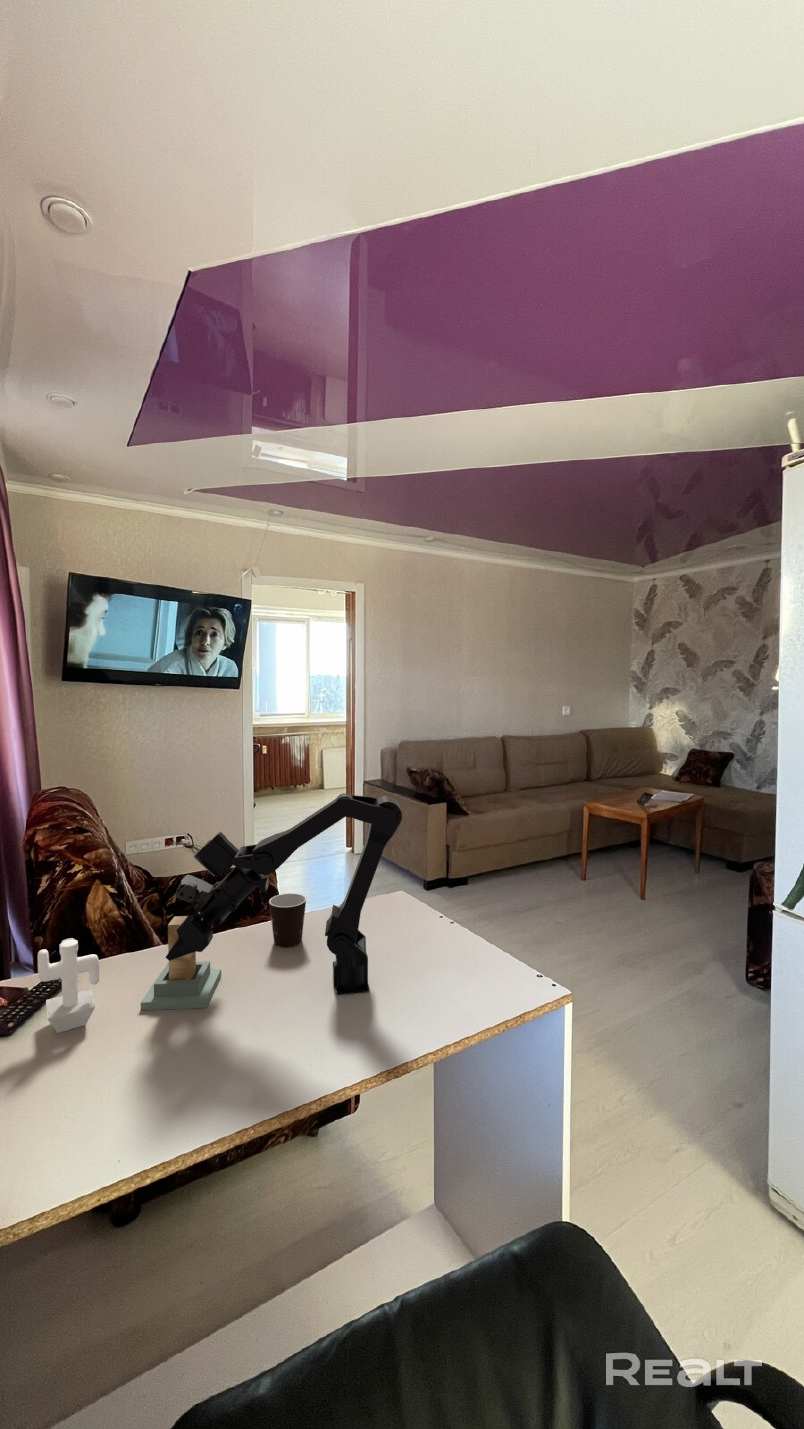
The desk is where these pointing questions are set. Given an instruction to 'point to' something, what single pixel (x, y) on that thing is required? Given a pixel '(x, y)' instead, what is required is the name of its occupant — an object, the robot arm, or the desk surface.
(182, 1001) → the socket holder
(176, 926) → the oak stick
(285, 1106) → the desk surface
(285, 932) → the brown paper cup
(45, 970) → the figurine
